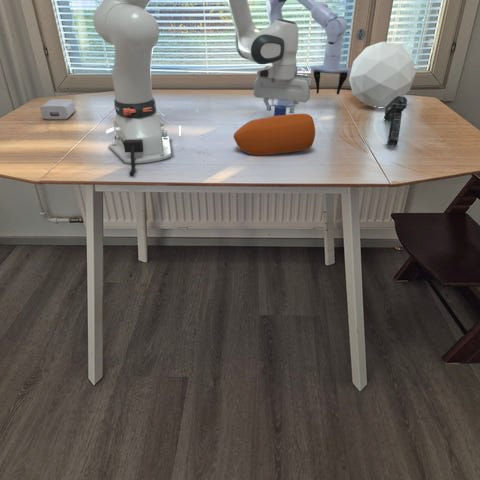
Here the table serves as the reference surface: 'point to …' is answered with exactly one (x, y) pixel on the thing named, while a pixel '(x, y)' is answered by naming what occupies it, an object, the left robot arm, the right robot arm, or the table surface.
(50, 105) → the charger
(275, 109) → the canister
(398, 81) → the decorative sphere
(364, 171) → the table surface
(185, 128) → the table surface
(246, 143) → the orange tapered cylinder
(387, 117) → the futuristic handgun
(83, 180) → the table surface
